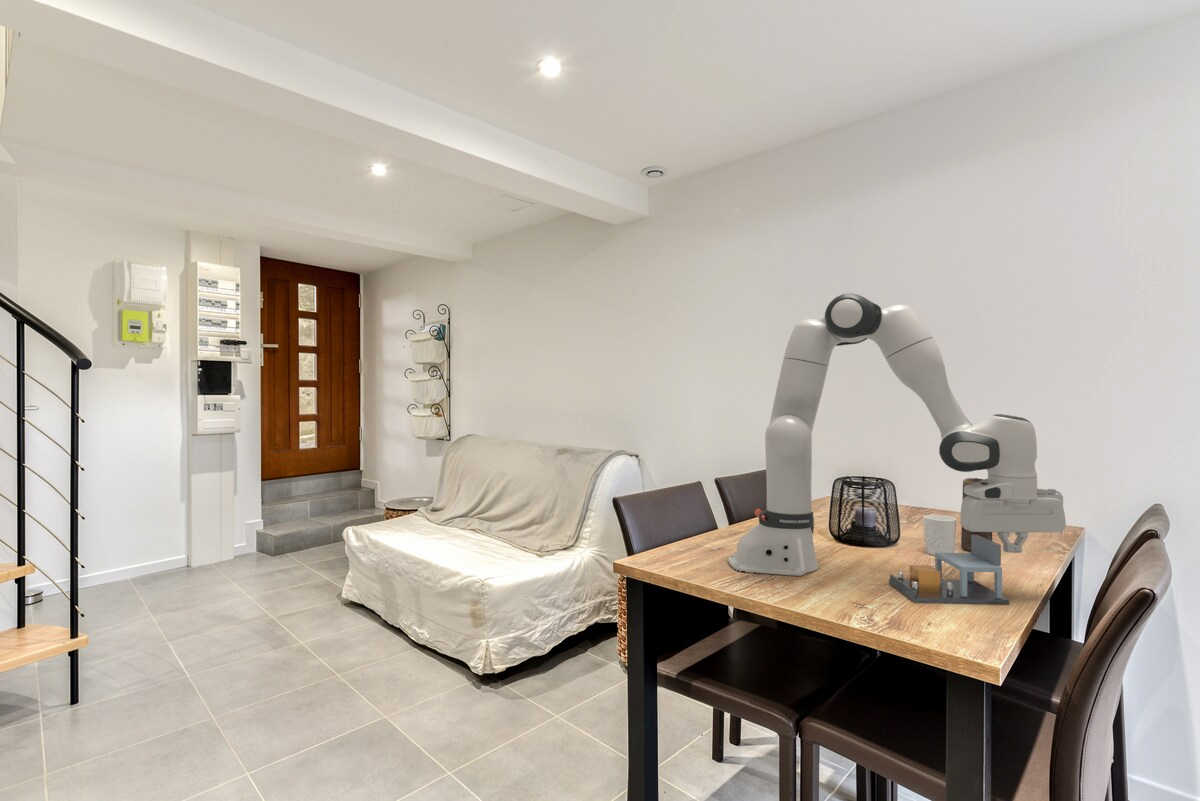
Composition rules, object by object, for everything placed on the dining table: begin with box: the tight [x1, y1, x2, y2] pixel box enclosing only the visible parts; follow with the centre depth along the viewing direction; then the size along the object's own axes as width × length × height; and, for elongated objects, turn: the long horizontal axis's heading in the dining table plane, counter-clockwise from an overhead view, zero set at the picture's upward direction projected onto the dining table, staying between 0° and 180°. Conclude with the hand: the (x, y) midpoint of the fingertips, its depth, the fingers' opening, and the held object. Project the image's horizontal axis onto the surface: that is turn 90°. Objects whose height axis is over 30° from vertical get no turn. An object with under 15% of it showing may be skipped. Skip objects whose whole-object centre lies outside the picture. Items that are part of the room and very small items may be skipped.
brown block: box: [908, 564, 940, 592], centre depth 129 cm, size 4×4×4 cm
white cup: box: [922, 514, 957, 556], centre depth 161 cm, size 8×8×10 cm
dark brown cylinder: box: [960, 477, 993, 551], centre depth 164 cm, size 8×7×20 cm
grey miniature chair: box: [934, 535, 1003, 597], centre depth 128 cm, size 8×12×11 cm
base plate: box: [888, 570, 1010, 606], centre depth 129 cm, size 19×13×4 cm
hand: (1012, 552), depth 128 cm, fingers closed
